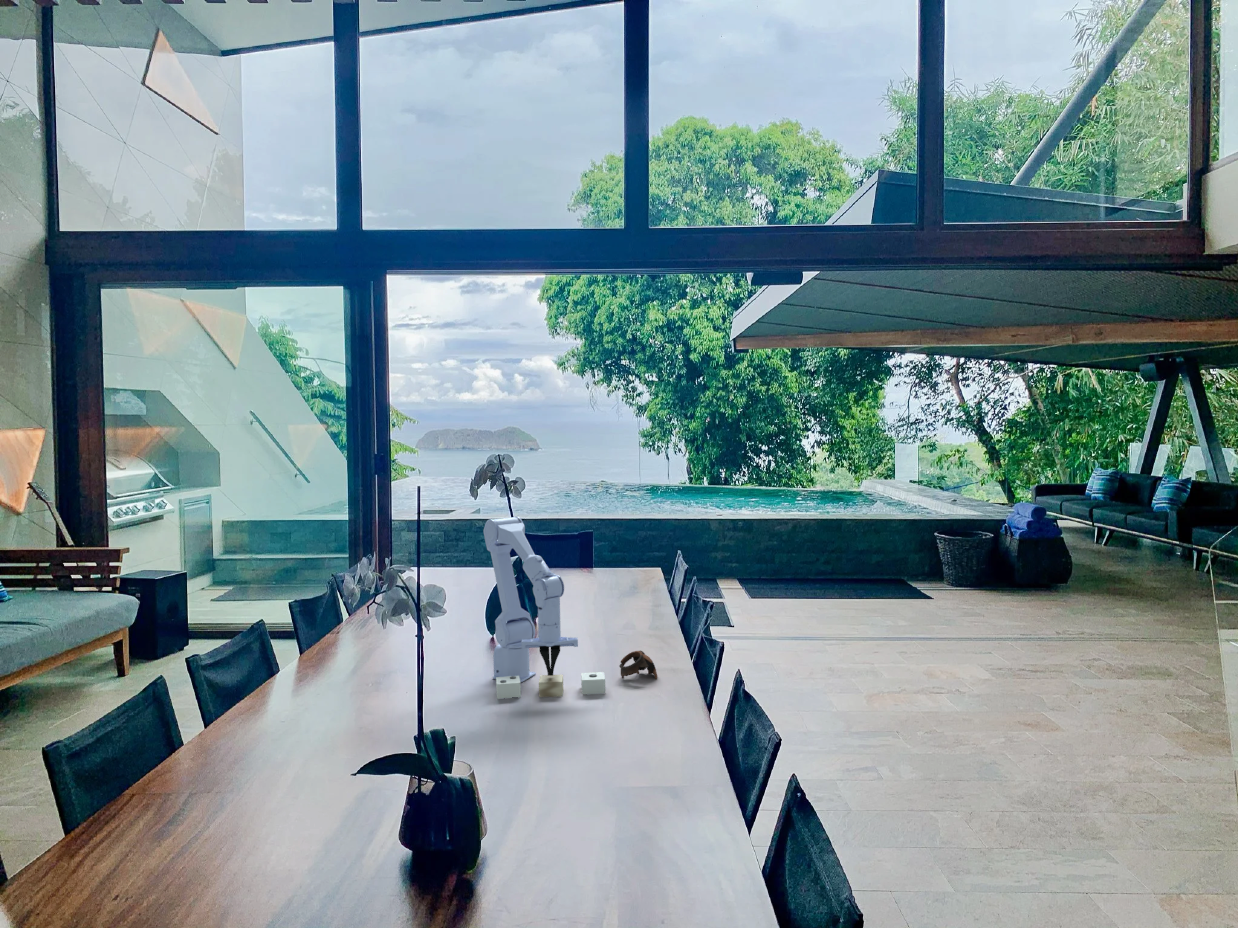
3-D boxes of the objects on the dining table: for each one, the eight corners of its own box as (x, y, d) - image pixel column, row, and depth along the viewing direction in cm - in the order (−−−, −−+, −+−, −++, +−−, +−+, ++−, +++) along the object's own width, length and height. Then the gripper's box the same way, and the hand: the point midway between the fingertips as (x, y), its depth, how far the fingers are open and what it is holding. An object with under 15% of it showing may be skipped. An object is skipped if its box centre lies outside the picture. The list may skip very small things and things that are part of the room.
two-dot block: (497, 699, 217) (496, 683, 217) (496, 692, 223) (496, 676, 223) (520, 697, 218) (520, 681, 218) (519, 690, 224) (519, 674, 224)
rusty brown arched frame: (660, 684, 228) (645, 660, 226) (629, 698, 230) (614, 674, 227) (660, 660, 239) (646, 637, 237) (630, 673, 241) (616, 651, 239)
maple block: (539, 697, 218) (538, 682, 218) (540, 690, 224) (540, 675, 224) (562, 697, 218) (562, 681, 218) (563, 689, 224) (563, 674, 224)
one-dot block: (582, 695, 219) (581, 679, 219) (581, 687, 225) (581, 672, 225) (605, 694, 220) (605, 678, 219) (604, 686, 226) (603, 671, 225)
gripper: (520, 627, 216) (521, 680, 217) (577, 625, 217) (578, 677, 218) (521, 620, 223) (522, 671, 224) (576, 618, 224) (578, 669, 225)
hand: (550, 674), depth 221 cm, fingers closed
